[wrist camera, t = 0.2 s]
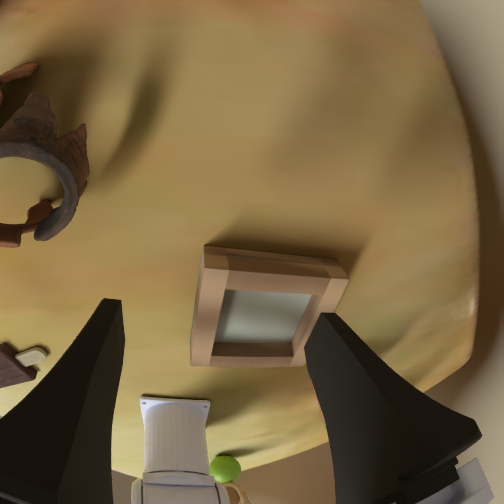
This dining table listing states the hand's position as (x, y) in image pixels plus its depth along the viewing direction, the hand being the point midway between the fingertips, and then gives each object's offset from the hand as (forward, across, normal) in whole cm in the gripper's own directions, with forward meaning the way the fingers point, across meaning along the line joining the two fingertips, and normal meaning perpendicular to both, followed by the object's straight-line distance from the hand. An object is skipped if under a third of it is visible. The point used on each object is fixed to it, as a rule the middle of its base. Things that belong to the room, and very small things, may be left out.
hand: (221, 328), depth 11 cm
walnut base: (+10, -5, +8) cm, 14 cm away
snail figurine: (+10, -8, +45) cm, 47 cm away
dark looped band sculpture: (+10, +13, -3) cm, 17 cm away
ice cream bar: (+11, +21, +21) cm, 31 cm away
